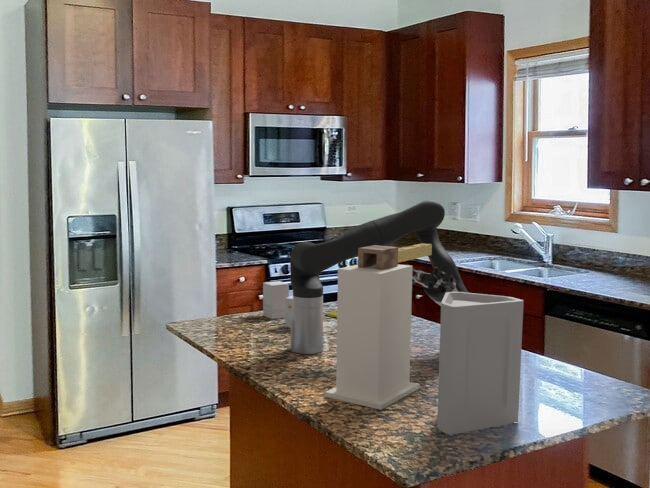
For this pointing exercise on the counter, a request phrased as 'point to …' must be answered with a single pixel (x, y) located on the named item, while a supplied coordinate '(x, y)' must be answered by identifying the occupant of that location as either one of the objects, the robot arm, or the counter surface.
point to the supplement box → (274, 299)
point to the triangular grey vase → (479, 361)
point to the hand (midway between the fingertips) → (420, 268)
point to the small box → (288, 311)
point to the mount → (374, 330)
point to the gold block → (414, 252)
